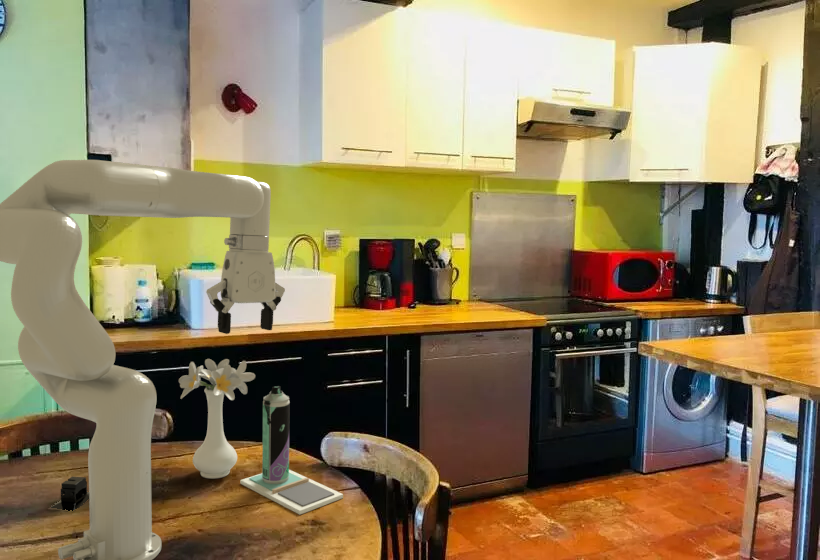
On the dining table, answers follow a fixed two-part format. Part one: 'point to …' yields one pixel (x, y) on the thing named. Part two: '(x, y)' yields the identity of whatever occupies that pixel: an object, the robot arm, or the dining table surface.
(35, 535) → the dining table surface
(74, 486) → the black angular piece
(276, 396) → the spray can
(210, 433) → the flower vase
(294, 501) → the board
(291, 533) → the dining table surface
